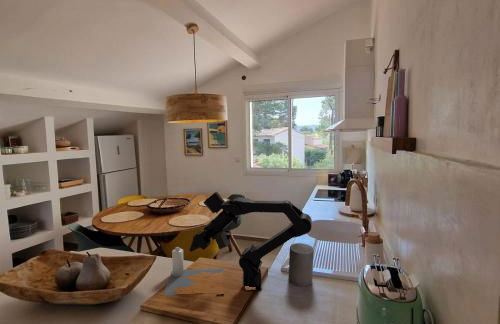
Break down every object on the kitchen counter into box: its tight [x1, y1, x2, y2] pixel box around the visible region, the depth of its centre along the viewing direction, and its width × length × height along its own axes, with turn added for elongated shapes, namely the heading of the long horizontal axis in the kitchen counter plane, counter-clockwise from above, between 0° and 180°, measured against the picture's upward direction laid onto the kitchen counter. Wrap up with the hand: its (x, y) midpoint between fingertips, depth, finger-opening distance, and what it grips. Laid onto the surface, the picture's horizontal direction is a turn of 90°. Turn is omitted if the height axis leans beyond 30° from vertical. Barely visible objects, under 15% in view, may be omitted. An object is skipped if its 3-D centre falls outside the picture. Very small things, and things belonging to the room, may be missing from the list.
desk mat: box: [163, 268, 225, 296], centre depth 109 cm, size 22×18×1 cm
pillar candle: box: [288, 242, 315, 287], centre depth 111 cm, size 10×10×15 cm
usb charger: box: [171, 246, 185, 277], centre depth 113 cm, size 4×4×11 cm
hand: (195, 246), depth 111 cm, fingers open, 9 cm apart
